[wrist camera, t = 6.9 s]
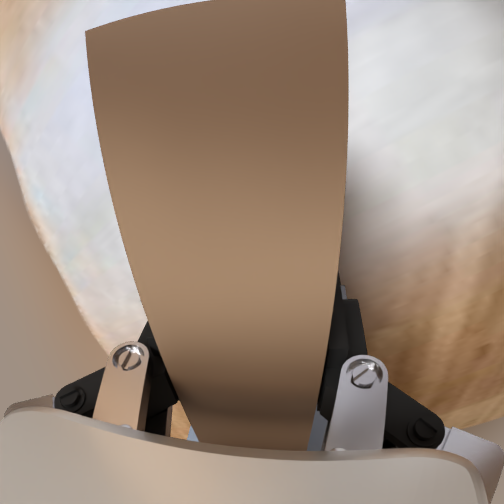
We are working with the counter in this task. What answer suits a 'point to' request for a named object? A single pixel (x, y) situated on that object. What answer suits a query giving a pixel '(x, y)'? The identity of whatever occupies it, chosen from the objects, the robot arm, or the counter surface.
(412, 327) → the counter surface
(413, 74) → the counter surface
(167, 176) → the brown wooden bar
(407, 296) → the counter surface
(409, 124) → the counter surface
